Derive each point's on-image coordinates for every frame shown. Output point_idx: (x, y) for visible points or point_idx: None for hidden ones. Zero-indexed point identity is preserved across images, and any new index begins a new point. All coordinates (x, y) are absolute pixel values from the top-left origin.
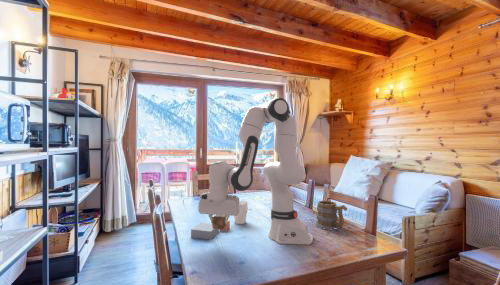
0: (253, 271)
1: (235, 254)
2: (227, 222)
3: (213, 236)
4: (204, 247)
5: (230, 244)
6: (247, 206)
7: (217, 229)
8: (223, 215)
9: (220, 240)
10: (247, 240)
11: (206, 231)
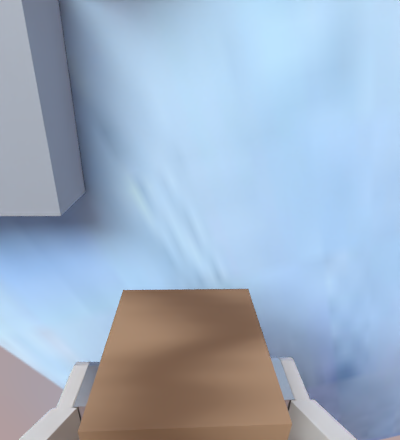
0: (387, 406)
1: (308, 327)
2: (293, 365)
3: (76, 136)
4: (115, 307)
5: (256, 231)
6: None
7: (45, 18)
8: (247, 437)
9: (166, 188)
10: (369, 134)
11: (14, 213)
